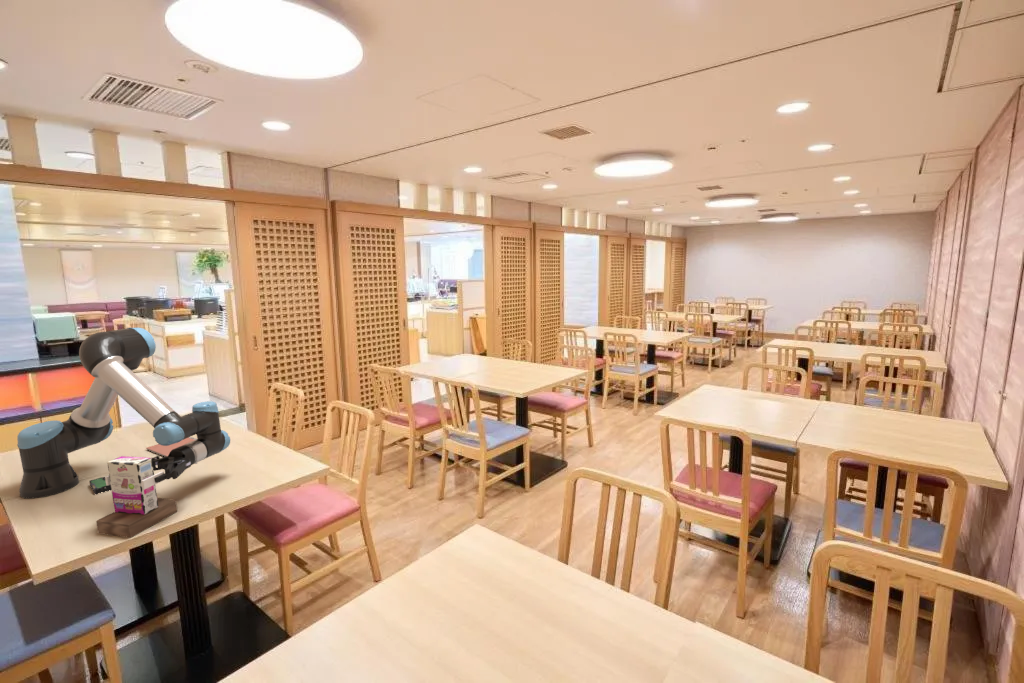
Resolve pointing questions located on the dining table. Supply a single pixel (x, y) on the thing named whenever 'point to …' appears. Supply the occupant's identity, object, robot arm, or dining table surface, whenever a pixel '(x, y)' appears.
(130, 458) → the candy bar box
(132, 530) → the wooden block
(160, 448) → the notebook
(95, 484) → the disk drive
